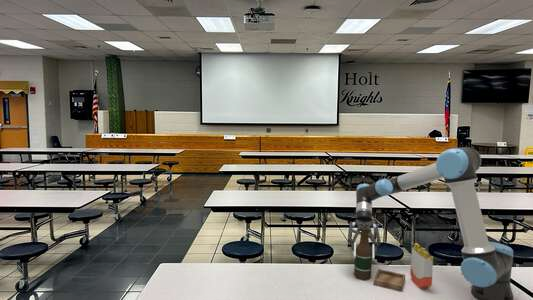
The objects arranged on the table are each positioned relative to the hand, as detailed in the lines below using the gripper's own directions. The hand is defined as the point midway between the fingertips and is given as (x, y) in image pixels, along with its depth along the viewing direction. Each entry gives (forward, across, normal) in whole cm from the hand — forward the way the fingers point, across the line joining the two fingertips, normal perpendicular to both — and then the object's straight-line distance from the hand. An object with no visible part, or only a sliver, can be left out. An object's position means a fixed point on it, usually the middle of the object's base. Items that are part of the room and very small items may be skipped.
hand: (363, 257), depth 160 cm
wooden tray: (+7, -12, -8) cm, 16 cm away
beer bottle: (+5, 0, -10) cm, 11 cm away
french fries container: (+6, -25, -9) cm, 27 cm away
